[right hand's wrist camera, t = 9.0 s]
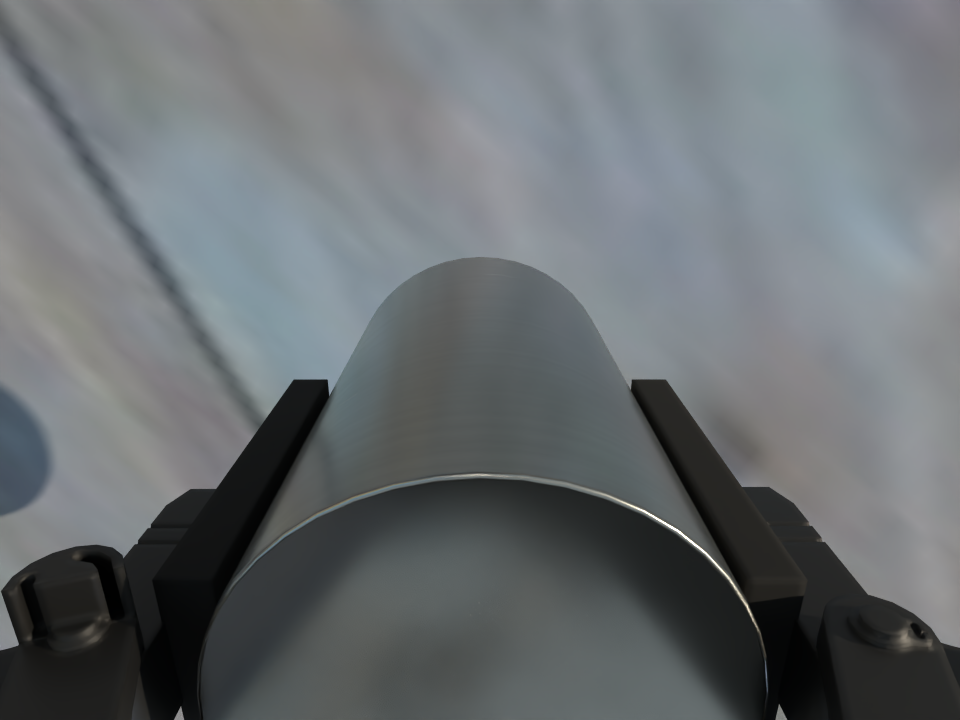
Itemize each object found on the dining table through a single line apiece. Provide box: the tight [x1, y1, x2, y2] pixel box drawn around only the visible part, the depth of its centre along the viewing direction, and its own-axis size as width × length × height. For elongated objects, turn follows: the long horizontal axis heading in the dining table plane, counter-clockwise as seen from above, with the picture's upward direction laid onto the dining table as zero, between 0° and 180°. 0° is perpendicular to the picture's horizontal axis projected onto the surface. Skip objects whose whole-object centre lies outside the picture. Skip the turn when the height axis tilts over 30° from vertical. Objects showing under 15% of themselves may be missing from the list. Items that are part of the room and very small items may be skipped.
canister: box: [197, 257, 769, 720], centre depth 12 cm, size 7×7×10 cm
